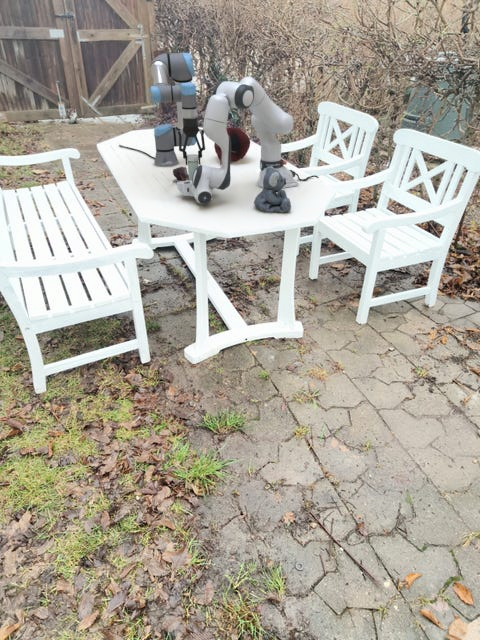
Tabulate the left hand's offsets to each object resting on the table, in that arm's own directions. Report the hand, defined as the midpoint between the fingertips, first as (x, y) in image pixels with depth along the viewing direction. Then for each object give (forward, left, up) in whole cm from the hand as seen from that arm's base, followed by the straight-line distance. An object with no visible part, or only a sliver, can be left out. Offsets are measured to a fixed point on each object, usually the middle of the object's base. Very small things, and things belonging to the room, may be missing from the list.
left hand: (193, 164), depth 240 cm
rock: (-20, +8, -15) cm, 26 cm away
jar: (0, 0, -15) cm, 15 cm away
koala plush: (+47, +9, -15) cm, 51 cm away
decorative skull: (-29, +60, -15) cm, 68 cm away
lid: (0, 0, +4) cm, 4 cm away
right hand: (-1, 0, -9) cm, 9 cm away
